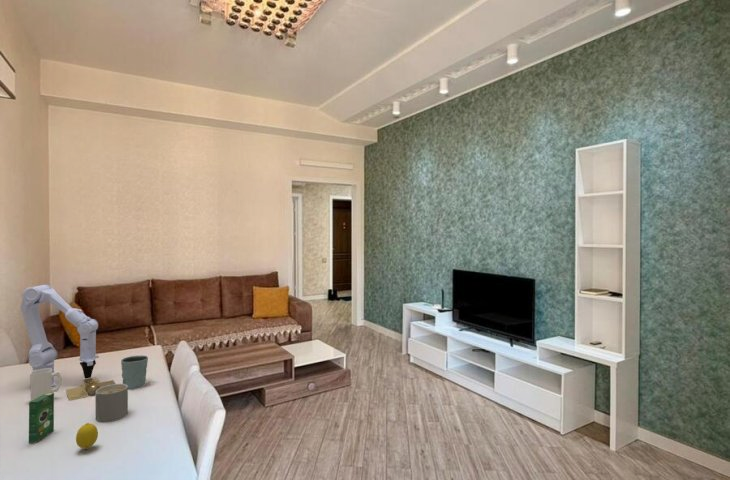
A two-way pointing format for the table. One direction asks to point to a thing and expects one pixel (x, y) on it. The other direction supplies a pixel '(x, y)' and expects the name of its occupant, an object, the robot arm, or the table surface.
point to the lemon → (86, 436)
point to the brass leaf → (80, 389)
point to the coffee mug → (111, 402)
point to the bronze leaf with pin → (93, 386)
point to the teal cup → (134, 371)
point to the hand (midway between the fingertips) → (87, 377)
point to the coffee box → (41, 417)
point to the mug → (43, 382)
